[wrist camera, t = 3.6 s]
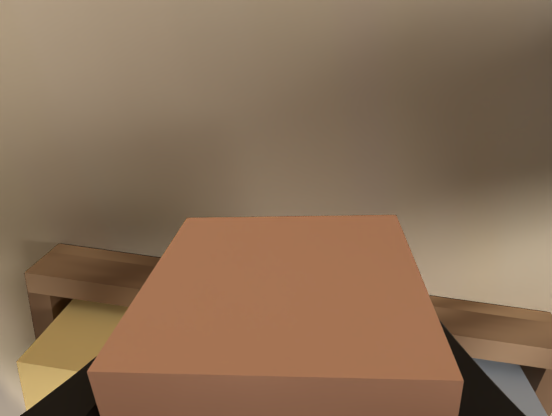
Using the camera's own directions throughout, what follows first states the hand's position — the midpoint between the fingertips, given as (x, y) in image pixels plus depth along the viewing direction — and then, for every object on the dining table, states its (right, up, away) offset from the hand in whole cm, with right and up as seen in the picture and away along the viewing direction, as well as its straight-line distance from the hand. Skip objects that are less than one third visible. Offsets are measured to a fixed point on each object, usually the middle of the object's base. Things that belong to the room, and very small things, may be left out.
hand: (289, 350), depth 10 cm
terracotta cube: (0, +1, +2) cm, 2 cm away
